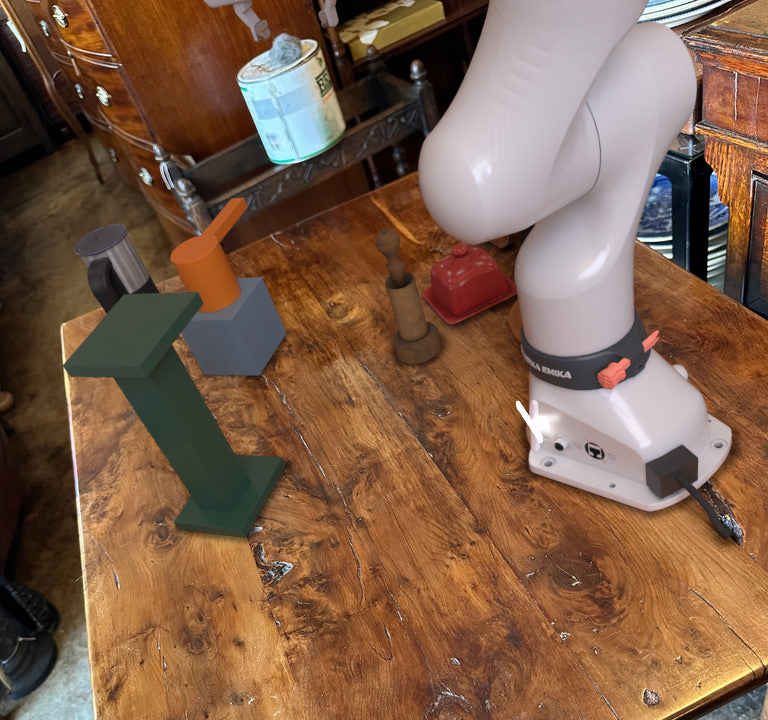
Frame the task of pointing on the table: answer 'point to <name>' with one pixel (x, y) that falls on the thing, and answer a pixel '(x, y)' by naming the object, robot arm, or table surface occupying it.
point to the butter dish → (466, 284)
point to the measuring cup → (210, 261)
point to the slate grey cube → (237, 333)
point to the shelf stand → (177, 410)
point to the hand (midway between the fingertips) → (296, 32)
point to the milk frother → (113, 265)
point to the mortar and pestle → (407, 306)
